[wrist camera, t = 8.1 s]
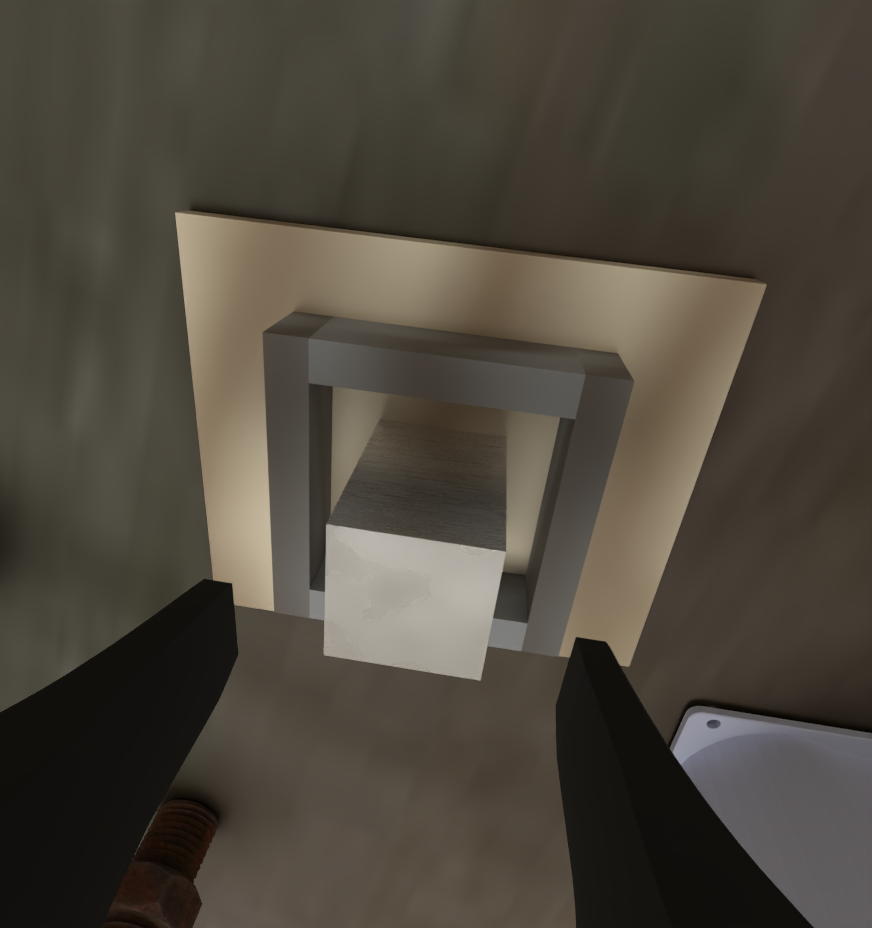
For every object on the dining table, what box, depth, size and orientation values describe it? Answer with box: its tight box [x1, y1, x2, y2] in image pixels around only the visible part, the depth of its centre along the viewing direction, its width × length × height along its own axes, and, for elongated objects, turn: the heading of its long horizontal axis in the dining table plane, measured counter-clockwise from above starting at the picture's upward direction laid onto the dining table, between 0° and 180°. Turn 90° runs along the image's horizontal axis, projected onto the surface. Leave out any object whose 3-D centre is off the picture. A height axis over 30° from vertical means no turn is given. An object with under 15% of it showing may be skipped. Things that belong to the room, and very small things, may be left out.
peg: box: [324, 419, 507, 680], centre depth 16 cm, size 4×4×6 cm
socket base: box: [175, 211, 767, 667], centre depth 18 cm, size 16×14×3 cm
